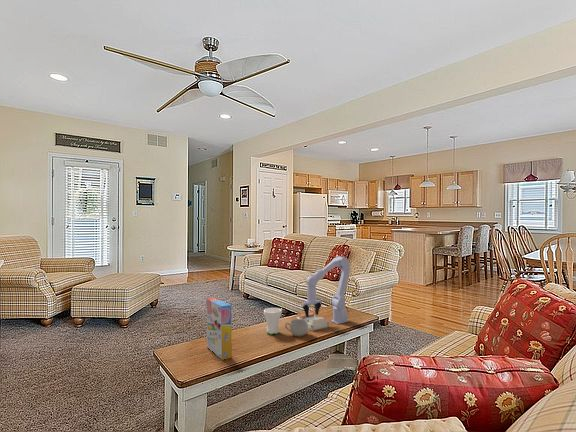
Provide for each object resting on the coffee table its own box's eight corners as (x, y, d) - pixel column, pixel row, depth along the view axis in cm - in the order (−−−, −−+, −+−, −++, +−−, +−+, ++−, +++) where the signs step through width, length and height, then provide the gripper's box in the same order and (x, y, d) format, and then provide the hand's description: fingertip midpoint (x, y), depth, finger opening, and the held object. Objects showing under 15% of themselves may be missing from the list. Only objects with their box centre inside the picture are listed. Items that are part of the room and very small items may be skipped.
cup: (273, 328, 212) (273, 306, 212) (285, 332, 205) (285, 310, 204) (260, 333, 205) (259, 310, 205) (272, 337, 197) (271, 313, 197)
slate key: (316, 320, 223) (316, 316, 223) (319, 321, 220) (319, 317, 220) (304, 322, 218) (304, 318, 218) (307, 323, 215) (307, 320, 215)
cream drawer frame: (311, 319, 231) (311, 314, 231) (328, 327, 214) (328, 322, 214) (295, 322, 224) (295, 317, 224) (312, 331, 207) (312, 325, 207)
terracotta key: (311, 316, 228) (311, 312, 228) (314, 317, 225) (314, 313, 225) (299, 318, 223) (299, 314, 223) (302, 319, 220) (302, 316, 220)
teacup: (308, 331, 206) (308, 319, 206) (307, 338, 195) (307, 324, 195) (286, 331, 207) (285, 318, 207) (284, 337, 197) (284, 324, 197)
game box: (232, 358, 169) (231, 304, 169) (222, 360, 166) (221, 306, 166) (215, 345, 186) (215, 296, 186) (206, 347, 183) (205, 298, 183)
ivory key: (321, 320, 218) (321, 317, 218) (324, 322, 215) (324, 318, 215) (309, 323, 213) (309, 319, 213) (312, 324, 210) (312, 321, 210)
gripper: (317, 292, 226) (317, 312, 226) (299, 295, 219) (299, 315, 219) (323, 294, 220) (323, 314, 220) (304, 297, 213) (305, 318, 213)
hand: (311, 315), depth 219 cm, fingers open, 7 cm apart
